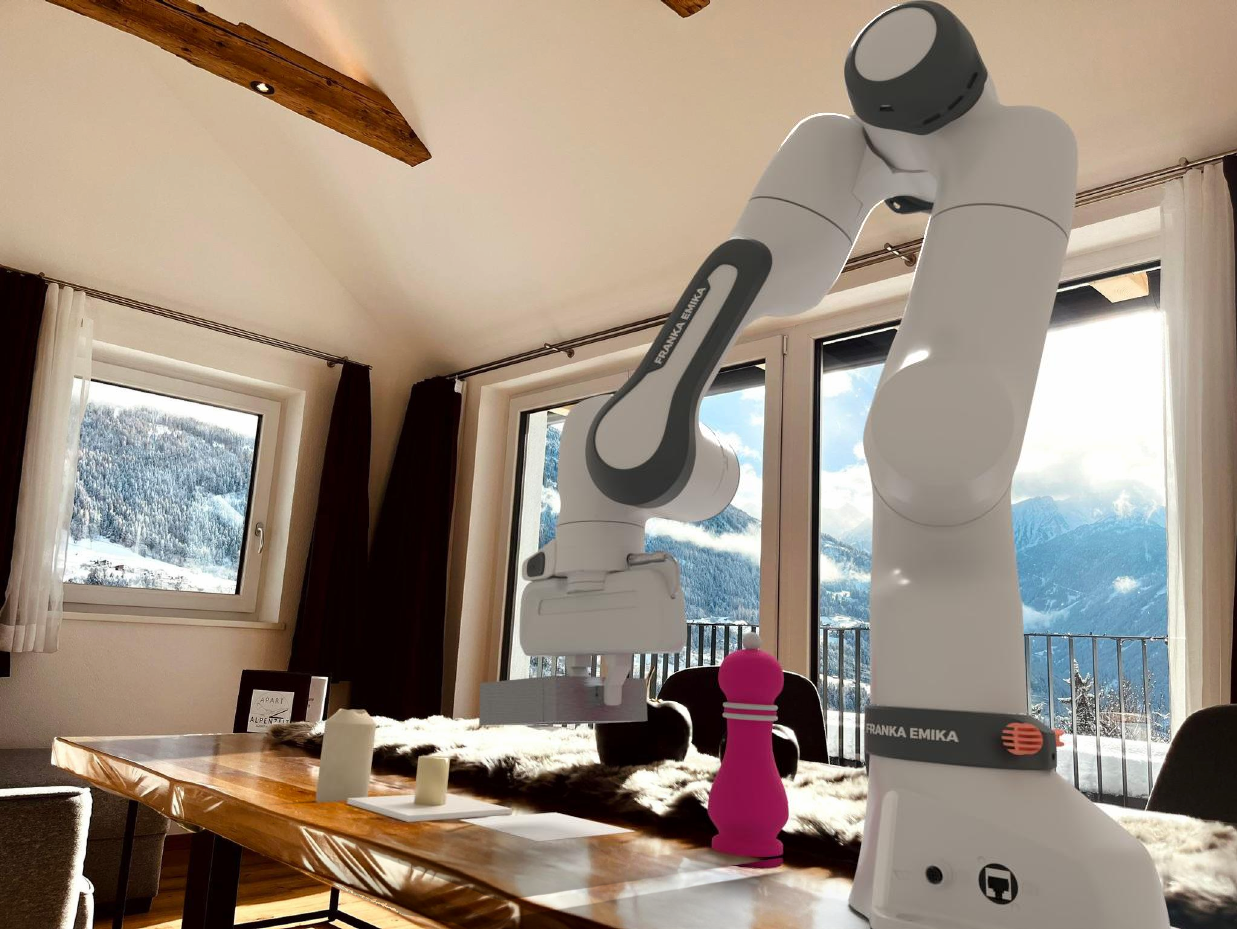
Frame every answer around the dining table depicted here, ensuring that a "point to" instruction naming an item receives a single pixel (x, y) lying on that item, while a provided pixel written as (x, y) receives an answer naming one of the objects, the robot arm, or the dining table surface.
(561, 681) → the collar
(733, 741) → the pepper mill
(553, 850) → the dining table surface
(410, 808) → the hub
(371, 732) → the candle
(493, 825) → the mat
